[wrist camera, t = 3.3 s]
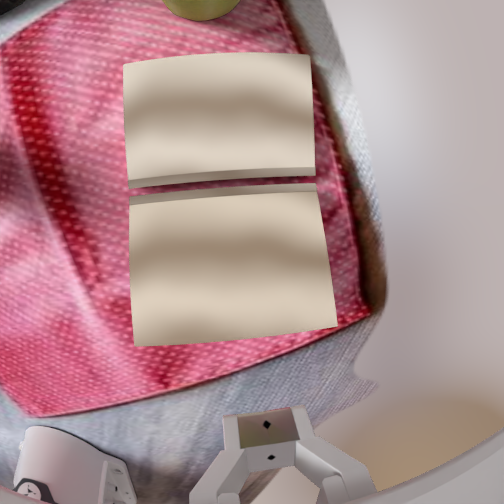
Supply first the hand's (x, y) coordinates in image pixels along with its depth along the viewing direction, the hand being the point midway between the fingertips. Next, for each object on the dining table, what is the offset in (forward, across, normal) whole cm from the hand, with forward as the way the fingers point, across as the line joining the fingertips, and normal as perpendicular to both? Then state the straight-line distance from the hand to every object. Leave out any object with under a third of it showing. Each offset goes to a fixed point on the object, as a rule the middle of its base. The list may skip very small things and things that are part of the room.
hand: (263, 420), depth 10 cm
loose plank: (+12, +1, -1) cm, 12 cm away
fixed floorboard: (+15, 0, -12) cm, 19 cm away
